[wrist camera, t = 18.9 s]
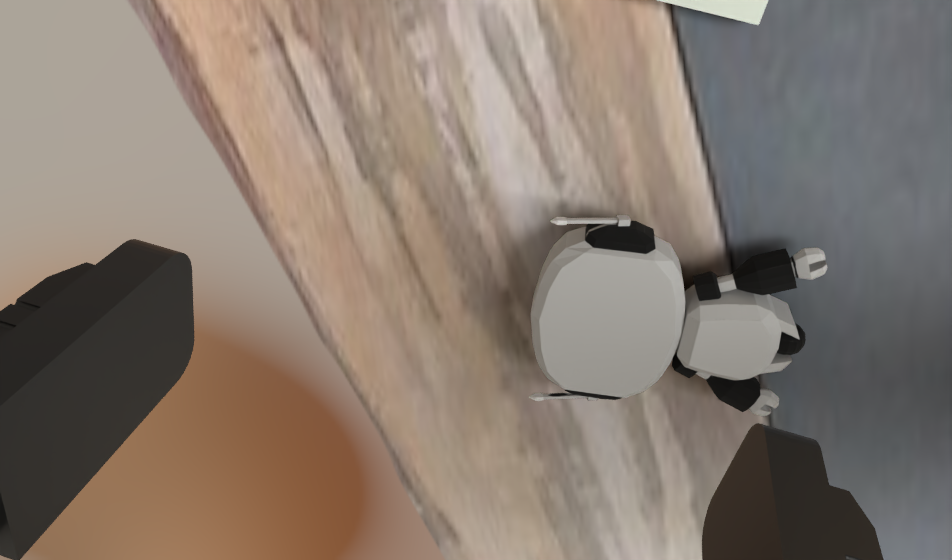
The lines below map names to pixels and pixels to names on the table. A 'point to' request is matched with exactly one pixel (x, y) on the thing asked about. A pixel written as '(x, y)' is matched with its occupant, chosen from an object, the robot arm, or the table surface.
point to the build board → (727, 8)
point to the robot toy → (661, 316)
